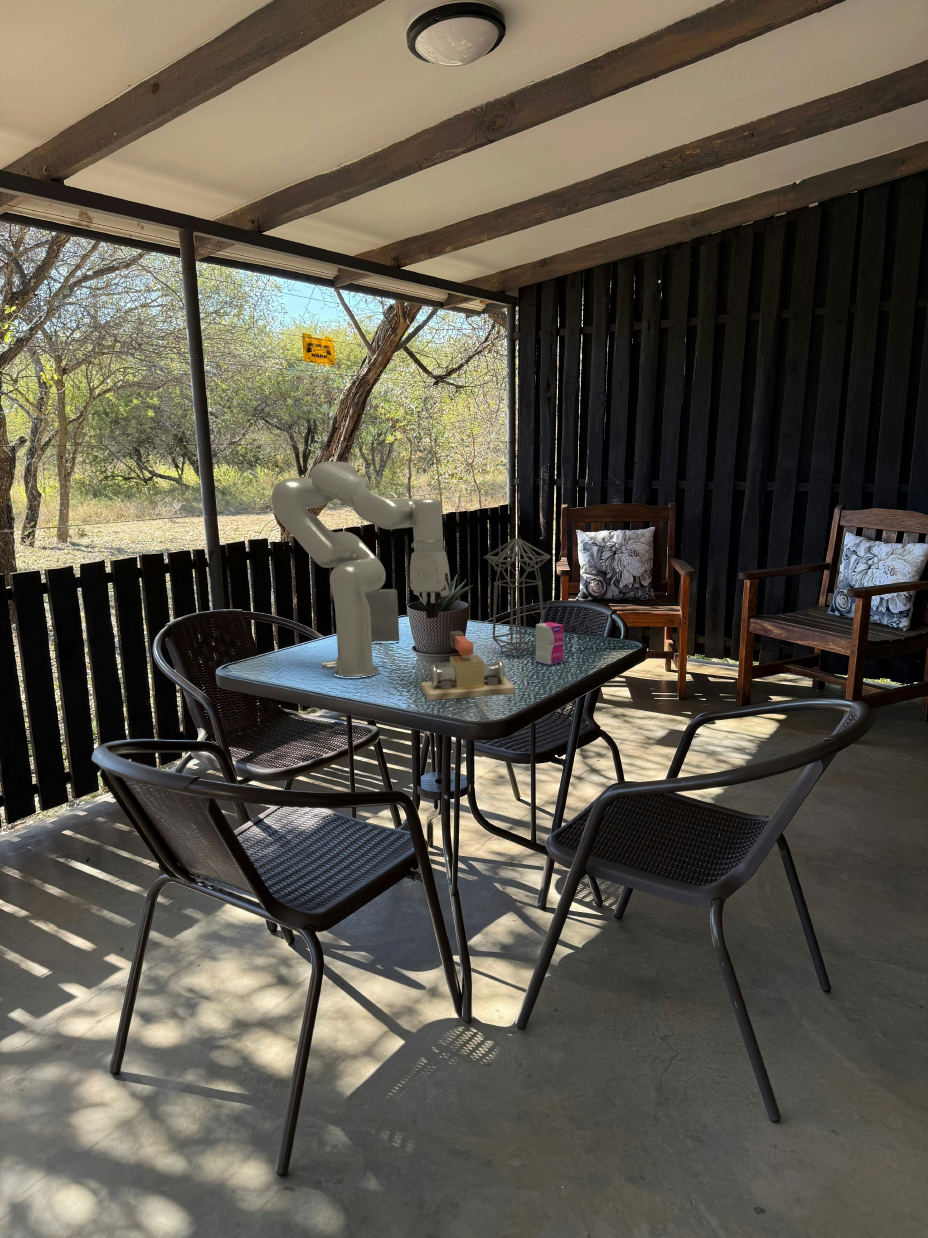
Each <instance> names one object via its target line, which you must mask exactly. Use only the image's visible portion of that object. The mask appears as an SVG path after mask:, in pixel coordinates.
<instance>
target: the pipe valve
mask: <svg viewBox="0 0 928 1238" xmlns="http://www.w3.org/2000/svg"><path fill="white" fill-rule="evenodd" d="M449 661H450V662H449V666H445V667H437V665H436V664H431V665H430V668H429V678H430V682H431V685H432V687H437V686H439V687H440V689H441V690H444V689H451V685H450V683H452V684H453V686H454V687H455V688H456V689H457V690H460V689H472V688H484V682H485V683H486V684H487V685H488V686H492V685H497V681H498V682H503V680H504V677H505V668H504V663H503V661H502V659H496V660H495V662H493V663H484V660H483V659H482V658H481V657H480V656H479V655H478V654H472V655H470V658H467V659H465V658H463V656H462V655H455V656H454V655H453V656H450V657H449Z"/></svg>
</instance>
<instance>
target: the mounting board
mask: <svg viewBox="0 0 928 1238" xmlns="http://www.w3.org/2000/svg"><path fill="white" fill-rule="evenodd" d="M450 685H451V689H444V690H441V689H440V687H439V686H437V687H432V685H431V681H426V682H425V681H424V682H420V690H421V691H422V692H423V694H424V695H425V697H426V699H427V700H428V701H437V700H439V701H441V700H450V699H462V698H474V697H475V698H476V697H488V696H498V695H499V696H500V695H508V694H509V695H510V694H516V691H517V690H516V686H515V685H514V684H513V683H512V682H511V681H509V680H508V679H507V678H506V677H505V676H504V680H503V682H498V681H497V685H492V686H488V685H487V684H486V683H485V682H484V688H472V689H460V690H457V689H456V688H455V687H454V686H453V684H452V683H450Z"/></svg>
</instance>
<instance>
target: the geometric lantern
mask: <svg viewBox="0 0 928 1238" xmlns="http://www.w3.org/2000/svg"><path fill="white" fill-rule="evenodd" d="M504 548H505V549H504ZM502 550H503V551H502ZM524 550H525V551H526V553H525V551H524ZM533 550H535V551H536V552H538V553H540V554H542V555H539V556H538V555H537V554H536V553H535V552H534V551H533ZM499 551H502V552H500V553H499V554H498V555H497V556H492V555H494V554H495V553H497V552H499ZM509 551H510V552H509ZM519 555H522V556H523V558H519ZM528 557H529V558H531V559H532V560H530V559H529V558H528ZM551 557H552V556H551V555H550V554H548V553H545V552H544V551H543V550H540V549H538V548H537V547H535V546H533V545H532V544H530V543H528V542H527V541H525V540H523V539H521V538H517V537H516V538H513V539H511V540H510V541H508V542H506V543H505V544H503V545H501V546H500V547H498V548H497V549H495V550H493V551H492V552H490V553H488V554H487V555H484V557H482V558H483V559H486V560H487V561H488V562H489V563H490V564H491V565H492V566H493V568H494V571H497V572H496V578H495V582H493V586H494V587H493V589H494V590H493V610H492V611H493V613H492V614H493V615H492V616H493V617H492V619H493V620H492V640H493V641H494V642H495V643H496V644H497V645H498V646H499V647H500V652H499V653H500V655H506V656H509V657H516V658H517V657H522V656H528V655H531V654H536V639H534V640H528V641H523V639H524V636H525V635H527V636H531V637H535V638H536V634H534V633H529V632H527V621H526V619H527V618H526V589H525V587H527V586H533V585H534V586H535V585H537V586H538V587H537V588H538V596H539V597H538V599H539V609H540V610H539V611H540V621H541V622H540V624H541V623H545V622H544V619H545V617H544V603H543V601H544V600H543V583H542V579H541V574H540V573H541V572H540V569H539V568H540V567H541V566H542V565H543V564H544V563H545V562H547V561H548V560H549V559H550V558H551ZM505 558H506V559H505ZM510 558H511V559H510ZM504 559H505V560H504ZM516 559H517V560H516ZM540 561H541V562H540ZM514 562H518V563H519V565H521V567H523V568H524V569H525V572H524V574H523V575H522V577H521V578H520V577H519V576H518V574H517V573H516V572H515V570H514V569H513V567H512V566H511V565H512V563H514ZM523 562H524V563H526V564H524V563H523ZM536 562H538V563H537V564H536ZM501 563H506V564H501ZM529 564H530V565H529ZM497 565H498V566H497ZM507 567H509V568H510V570H511V571H512V572H513V573H514V575H515V576H516V577H517V578H515V579H509V577H508V576H507V574H506V572H505V571H504V570H505V569H507ZM532 567H533V568H532ZM500 571H501V573H502V574H503V575H504V577H505V580H500V581H498V579H499V576H500V575H499V574H500ZM531 571H534V573H535V576H536V580H530V579H526V576H527V575H528V573H529V572H531ZM537 571H538V572H537ZM513 581H517V582H516V584H517V585H515V584H512V583H511V582H513ZM506 582H508V584H505V583H506ZM521 582H522V584H521ZM525 582H532V583H527V584H525ZM499 586H504V587H510V633H509V632H508V633H506V634H500V635H496V627H497V626H496V625H497V623H496V622H497V606H498V595H499V594H498V593H499V592H498V591H499ZM520 587H522V594H523V595H522V599H523V600H522V601H523V602H522V603H523V604H522V605H523V632H522V625H521V609H520V607H521V606H520ZM514 588H516V610H515V611H516V616H515V617H516V618H515V632H514V631H513V630H514V629H513V628H514V627H513V624H514V622H513V620H514V619H513V618H514V617H513V616H514V615H513V614H514V612H513V611H514V610H513V609H514V607H513V605H514V599H513V598H514V592H513V591H514ZM513 635H515V641H513ZM507 636H510V642H509V641H506V640H503V639H499V638H502V637H507ZM518 636H519V641H518ZM500 642H501V643H504V644H503V645H501V643H500ZM531 643H535V644H531ZM518 645H519V646H518ZM522 645H526V646H529V647H523V648H521V647H522ZM509 646H512V647H513V648H512V647H509ZM503 648H504V649H507V650H503ZM512 651H515V654H510V653H508V652H512ZM521 651H529V652H526V653H523V654H522V652H521ZM518 652H519V654H518Z"/></svg>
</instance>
